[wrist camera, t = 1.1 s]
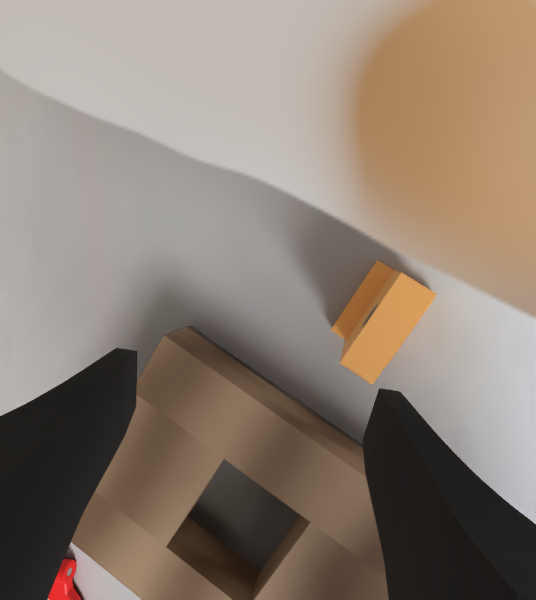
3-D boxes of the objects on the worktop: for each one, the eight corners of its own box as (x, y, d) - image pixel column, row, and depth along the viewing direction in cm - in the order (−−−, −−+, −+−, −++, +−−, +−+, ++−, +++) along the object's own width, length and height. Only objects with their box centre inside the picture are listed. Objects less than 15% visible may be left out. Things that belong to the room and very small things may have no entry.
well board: (449, 505, 24) (463, 545, 20) (313, 673, 27) (306, 733, 23) (189, 325, 26) (163, 335, 23) (89, 495, 29) (53, 526, 26)
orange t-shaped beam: (377, 260, 24) (381, 259, 17) (432, 294, 23) (458, 307, 17) (332, 327, 25) (320, 350, 18) (385, 362, 24) (392, 398, 18)
